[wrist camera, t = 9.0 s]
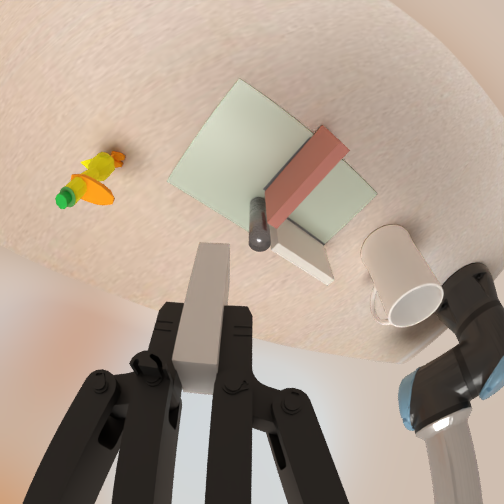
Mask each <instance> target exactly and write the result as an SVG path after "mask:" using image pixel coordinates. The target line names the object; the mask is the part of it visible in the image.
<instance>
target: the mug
mask: <svg viewBox="0 0 504 504" xmlns="http://www.w3.org/2000/svg"><path fill="white" fill-rule="evenodd" d="M361 259H362V261H363V263H364V265H365V266H366V267H367V269H368V271H369V273H370V276H371V278H372V280H373V283H374V286H373V289H372V292H371V297H370V309H371V313H372V316H373V318H374V319H375V320H376V321H377V322H378V323H380V324H382V325H390V324H392V325H393V326H396V327H408V326H412V325H415V324H417V323H419V322H421V321H423V320H425V319H426V318H428V317H429V316H430V315H431V314H432V313H434V312H435V310H436V309H437V308H438V307H439V305H440V304H441V302H442V299H443V295H444V293H443V289H442V287H441V285H440V283H439V282H438V280H437V278H436V277H435V275H434V273H433V272H432V270H431V269H430V267H429V265H428V264H427V262H426V261H425V259H424V258H423V256H422V255H421V253H420V252H419V250H418V249H417V247H416V246H415V244H414V243H413V241H412V240H411V237H410V235H409V233H408V231H407V230H406V229H405V228H403V227H401V226H399V225H387V226H383V227H381V228H379V229H377V230H375V231H374V232H373V233H371V234H370V235H369V236H368V238H367V239H366V240H365V242H364V244H363V246H362V249H361ZM377 292H378V295H379V297H380V299H381V302H382V304H383V307H384V310H385V312H386V315H387V317H388V319H385V320H381V319H380V318H379V317H378V316H377V314H376V311H375V297H376V293H377Z"/></svg>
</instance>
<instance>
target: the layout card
mask: <svg viewBox="0 0 504 504" xmlns="http://www.w3.org/2000/svg"><path fill="white" fill-rule="evenodd" d="M313 135H314V134H313V133H312V132H311V131H309V130H308V129H307V128H306V127H305V126H303V125H302V124H301V123H300V122H298V121H297V120H296V119H295V118H293V117H292V116H291V115H290V114H288V113H287V112H286V111H284V110H283V109H282V108H280V107H279V106H278V105H276V104H275V103H274V102H272V101H271V100H270V99H268V98H267V97H266V96H264V95H263V94H261V93H260V92H259V91H257V90H256V89H254V88H253V87H251V86H250V85H249V84H247V83H246V82H244V81H243V80H241V79H240V78H239V80H238V81H237V82H236V83H235V85H234V86H233V87H232V88H231V90H230V91H229V92H228V93H227V95H226V96H225V97H224V99H223V100H222V101H221V103H220V104H219V105H218V106H217V108H216V109H215V111H214V112H213V113H212V115H211V116H210V117H209V119H208V120H207V121H206V123H205V124H204V126H203V127H202V128H201V130H200V131H199V133H198V134H197V136H196V137H195V139H194V140H193V141H192V143H191V144H190V146H189V147H188V149H187V150H186V152H185V153H184V155H183V156H182V158H181V160H180V161H179V163H178V164H177V166H176V167H175V169H174V171H173V172H172V174H171V175H170V177H169V179H168V180H167V182H168V183H170V184H172V185H173V186H175V187H177V188H178V189H180V190H182V191H183V192H185V193H186V194H188V195H190V196H191V197H193V198H195V199H196V200H198V201H200V202H201V203H203V204H204V205H206V206H208V207H209V208H211V209H212V210H214V211H216V212H217V213H219V214H221V215H222V216H224V217H225V218H227V219H229V220H230V221H232V222H233V223H235V224H237V225H238V226H240V227H241V228H243V229H245V230H246V231H248V232H249V212H250V201H251V200H252V199H253V198H255V197H262V198H264V199H265V191H266V190H267V188H268V187H269V186H270V185H271V184H272V183H273V181H274V180H275V179H276V178H277V177H278V175H279V174H280V173H281V172H282V171H283V170H284V168H285V167H286V166H287V165H288V164H289V163H290V162H291V160H292V159H293V158H294V157H295V156H296V155H297V153H298V152H299V151H300V150H301V149H302V148H303V147H304V145H305V144H306V143H307V142H308V141H309V140H310V139H311V137H312V136H313ZM376 195H377V193H376V192H375V191H374V190H373V189H372V188H371V187H370V186H369V185H368V184H367V183H366V182H365V181H364V180H363V179H362V178H361V177H360V176H359V175H358V174H357V173H356V172H355V171H354V170H353V169H352V168H351V167H350V166H349V165H348V164H347V163H346V162H345V161H344V160H342V159H341V160H340V161H339V162H338V164H337V165H336V166H335V167H334V168H333V169H332V170H331V171H330V172H329V173H328V174H327V175H326V176H325V178H324V179H323V180H322V181H321V182H320V183H319V184H318V185H317V186H316V187H315V188H314V189H313V190H312V192H311V193H310V194H309V195H308V196H307V197H306V198H305V199H304V200H303V201H302V202H301V203H300V204H299V206H298V207H297V208H296V209H295V210H294V211H293V212H292V213H291V214H290V215H289V216H288V217H287V218H286V219H288V220H289V221H291V222H292V223H293V224H295V225H296V226H298V227H299V228H300V229H302V230H303V231H305V232H306V233H307V234H309V235H310V236H312V237H313V238H314V239H316V240H317V241H318V242H320V243H321V244H323V245H325V243H327V242H328V241H329V240H330V239H331V238H332V237H333V236H334V235H335V234H336V233H337V232H338V231H340V230H341V229H342V228H343V227H344V226H345V225H346V224H347V223H348V222H349V221H350V220H351V219H352V218H353V217H354V216H355V215H357V214H358V213H359V212H360V211H361V210H362V209H363V208H364V207H365V206H366V205H367V204H368V203H369V202H370V201H371V200H372V199H373V198H374V197H375V196H376ZM270 246H271V245H270Z"/></svg>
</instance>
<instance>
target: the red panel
mask: <svg viewBox="0 0 504 504" xmlns="http://www.w3.org/2000/svg"><path fill="white" fill-rule="evenodd" d="M349 151H350V150H349V149H348V148H347V147H346V146H345V145H344V144H343V143H342V142H341V141H340V140H339V139H338V138H336V137H335V136H334V135H333V134H332V133H331V132H330V131H329V130H328V129H326V128H325V127H324V126H323V125H322V126H321V127H320V128H319V129H318V131H317V132H316V133H315V134H314V135H313V136H312V137H311V139H310V140H309V141H308V142H307V143H306V144H305V145H304V147H303V148H302V149H301V150H300V151H299V152H298V153H297V155H296V156H295V157H294V158H293V159H292V160H291V162H290V163H289V164H288V165H287V166H286V167H285V168H284V170H283V171H282V172H281V173H280V174H279V175H278V177H277V178H276V179H275V180H274V181H273V183H272V184H271V185H270V186H269V187H268V188H267V190H266V191H265V202H266V214H267V223H268V224H270V225H271V226H273V227H274V228H276V229H277V228H278V227H279V226H280V225H281V224H282V223H283V222H284V221H285V220H286V218H287V217H288V216H289V215H290V214H291V213H292V212H293V211H294V210H295V209H296V208H297V207H298V206H299V204H300V203H301V202H302V201H303V200H304V199H305V198H306V197H307V196H308V195H309V194H310V193H311V192H312V190H313V189H314V188H315V187H316V186H317V185H318V184H319V183H320V182H321V181H322V180H323V179H324V178H325V176H326V175H327V174H328V173H329V172H330V171H331V170H332V169H333V168H334V167H335V166H336V165H337V164H338V162H339V161H340V160H341V159H342V158H343V157H344V156H345V155H346V154H347V153H348V152H349Z"/></svg>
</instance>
